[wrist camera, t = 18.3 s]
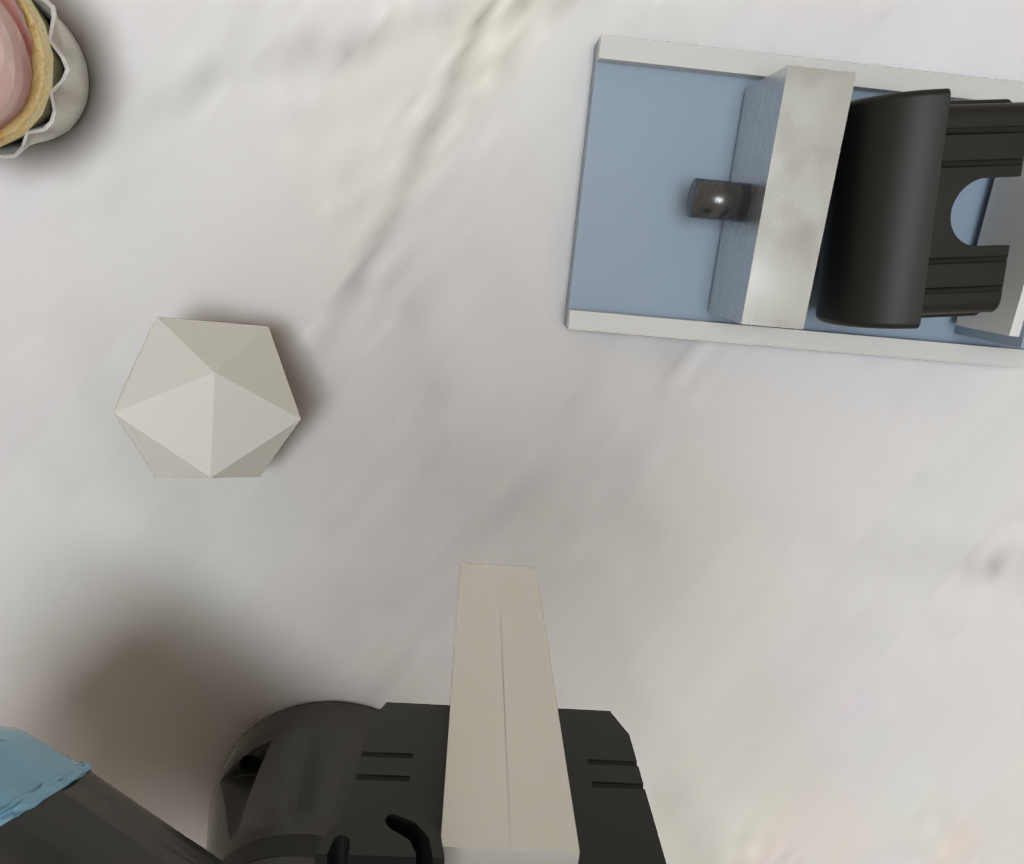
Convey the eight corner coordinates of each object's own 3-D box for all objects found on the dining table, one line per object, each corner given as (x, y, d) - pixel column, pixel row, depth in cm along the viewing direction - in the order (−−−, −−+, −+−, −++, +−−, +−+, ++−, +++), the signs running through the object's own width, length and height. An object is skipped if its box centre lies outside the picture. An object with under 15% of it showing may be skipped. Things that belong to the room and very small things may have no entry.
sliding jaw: (762, 316, 37) (803, 329, 33) (662, 307, 37) (689, 319, 32) (804, 94, 34) (856, 72, 30) (696, 82, 34) (730, 58, 29)
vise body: (1007, 362, 40) (1097, 385, 34) (564, 324, 39) (578, 341, 33) (1084, 100, 36) (1200, 74, 30) (595, 45, 35) (617, 7, 29)
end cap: (805, 115, 35) (878, 89, 28) (943, 110, 35) (1047, 83, 29) (789, 314, 38) (853, 332, 31) (917, 309, 38) (1006, 325, 31)
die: (283, 285, 38) (100, 278, 30) (363, 406, 36) (187, 432, 28) (227, 381, 42) (53, 396, 35) (295, 494, 40) (126, 538, 32)
